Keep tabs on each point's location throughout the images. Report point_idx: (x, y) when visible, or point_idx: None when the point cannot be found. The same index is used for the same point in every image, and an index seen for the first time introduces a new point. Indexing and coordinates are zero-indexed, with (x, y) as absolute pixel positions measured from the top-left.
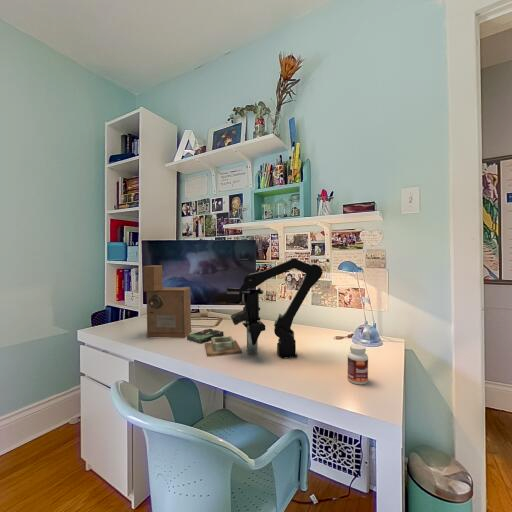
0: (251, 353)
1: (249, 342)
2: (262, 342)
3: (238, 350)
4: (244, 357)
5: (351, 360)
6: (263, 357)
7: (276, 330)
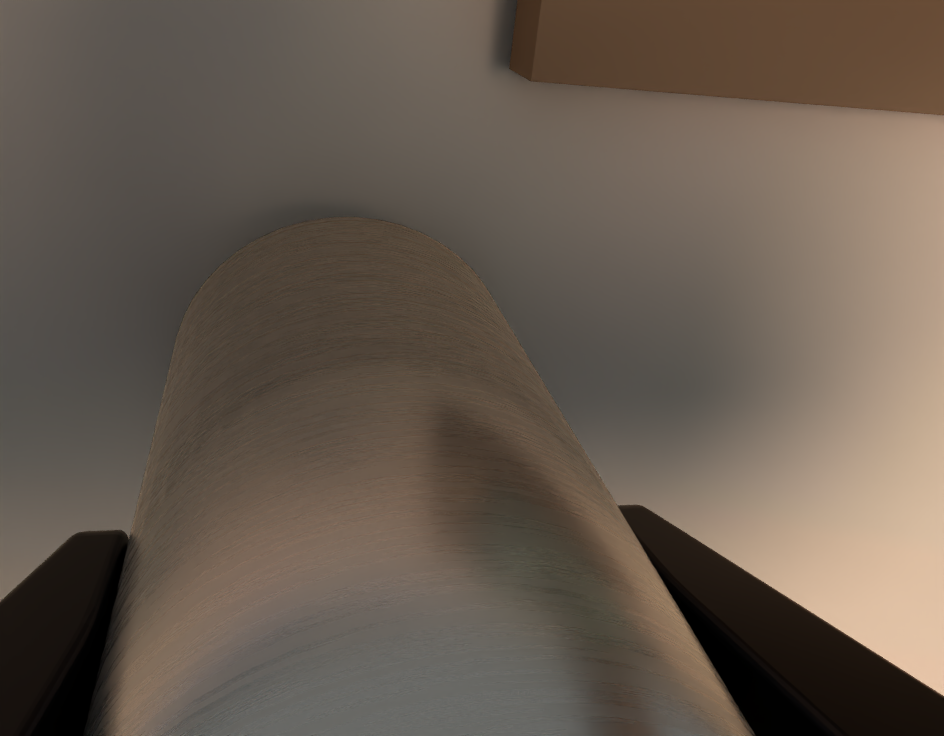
0: (182, 320)
1: (189, 479)
2: (902, 658)
3: None
4: (106, 40)
5: None
6: (5, 547)
7: None
